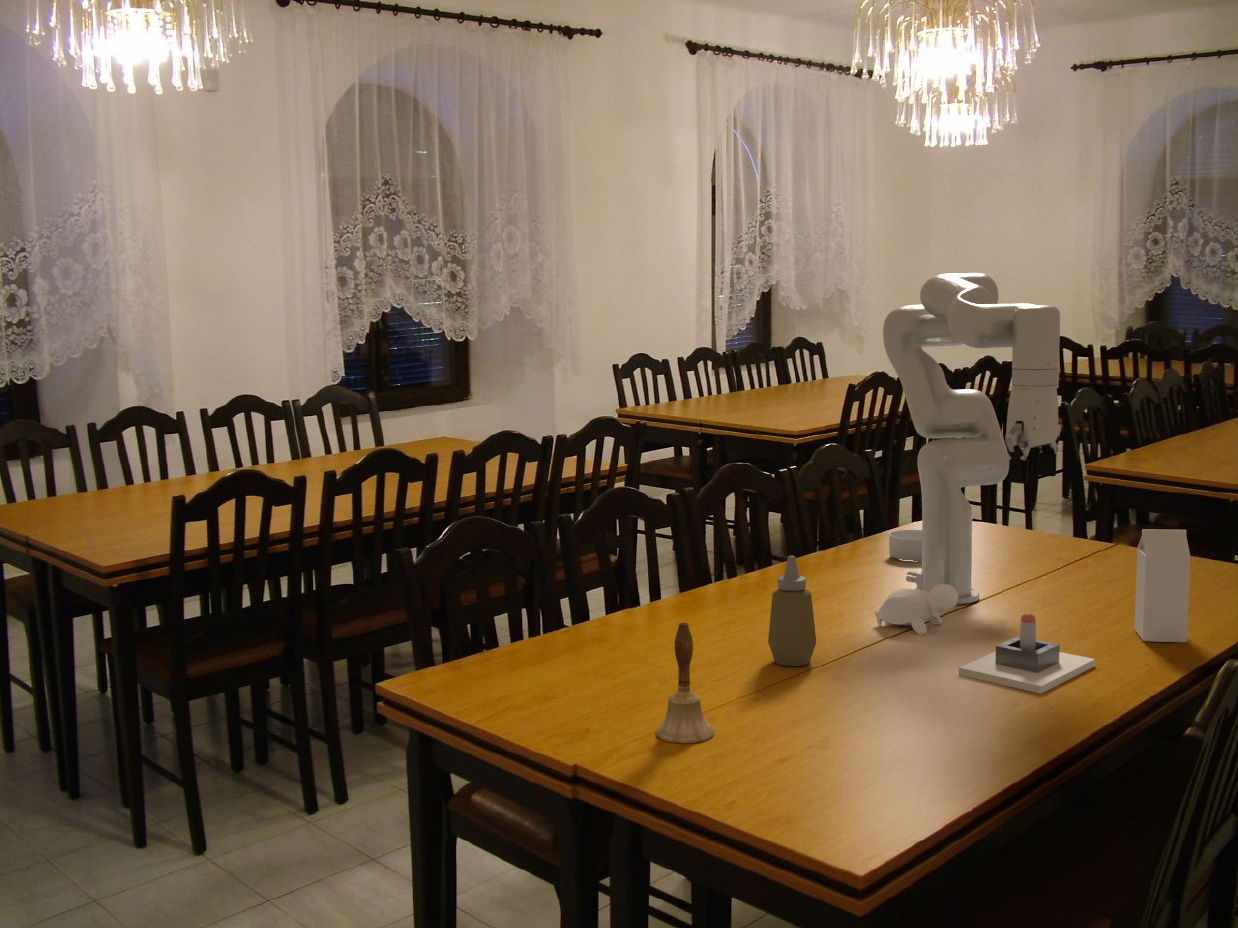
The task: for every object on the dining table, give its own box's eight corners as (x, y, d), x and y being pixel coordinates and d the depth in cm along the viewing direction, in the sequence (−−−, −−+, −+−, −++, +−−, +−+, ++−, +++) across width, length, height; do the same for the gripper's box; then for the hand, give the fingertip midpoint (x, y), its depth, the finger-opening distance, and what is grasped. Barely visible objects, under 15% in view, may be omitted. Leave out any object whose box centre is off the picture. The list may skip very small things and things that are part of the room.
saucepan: (954, 572, 265) (954, 547, 265) (877, 558, 280) (877, 534, 279) (983, 563, 273) (983, 538, 272) (906, 550, 288) (906, 527, 287)
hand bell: (652, 724, 179) (650, 617, 176) (709, 721, 179) (707, 614, 177) (659, 745, 170) (656, 633, 168) (719, 742, 171) (717, 630, 169)
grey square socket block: (995, 663, 198) (995, 645, 198) (1017, 653, 203) (1017, 635, 203) (1037, 672, 193) (1037, 654, 193) (1059, 662, 198) (1059, 644, 198)
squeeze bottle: (820, 656, 208) (820, 552, 206) (812, 671, 201) (811, 563, 198) (773, 653, 211) (772, 550, 208) (763, 667, 203) (762, 560, 201)
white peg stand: (958, 674, 197) (959, 616, 196) (1014, 649, 209) (1015, 595, 208) (1041, 693, 187) (1042, 633, 186) (1094, 666, 199) (1096, 609, 198)
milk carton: (1187, 643, 210) (1191, 534, 208) (1142, 642, 212) (1146, 533, 209) (1177, 631, 217) (1181, 525, 215) (1134, 630, 219) (1137, 525, 216)
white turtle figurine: (881, 645, 224) (955, 626, 215) (865, 600, 225) (938, 580, 216) (901, 633, 231) (974, 615, 222) (886, 590, 232) (957, 570, 223)
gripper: (1039, 374, 217) (1036, 471, 219) (988, 382, 205) (986, 483, 208) (1080, 376, 212) (1077, 474, 214) (1030, 383, 200) (1028, 488, 202)
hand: (1032, 479), depth 211 cm, fingers open, 9 cm apart
